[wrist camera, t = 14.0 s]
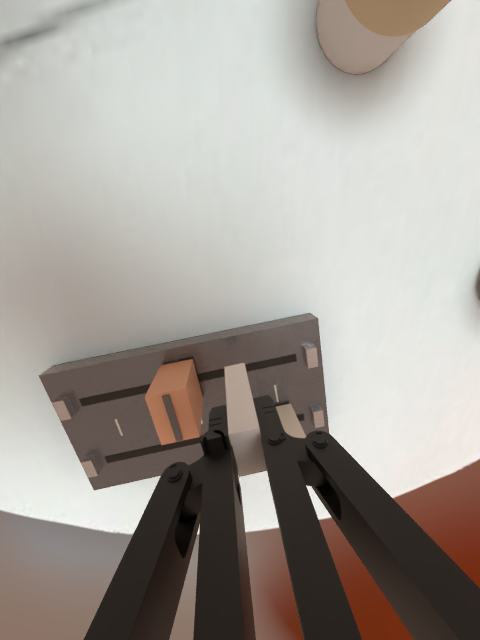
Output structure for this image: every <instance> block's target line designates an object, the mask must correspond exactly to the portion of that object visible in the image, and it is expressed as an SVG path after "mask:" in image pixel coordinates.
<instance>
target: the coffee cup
mask: <svg viewBox="0 0 480 640" xmlns="http://www.w3.org/2000/svg"><path fill="white" fill-rule="evenodd" d="M450 1H451V0H319V2H318V7H317V14H316V28H317V35H318V39H319V43H320V45H321V48H322V50H323V52H324V54H325V55H326V57H327V58H328V60H329V61H330V62H331V63H332V64H333V65H334V66H335V67H337V68H338V69H340V70H342V71H344V72H346V73H350V74H363V73H367V72H370V71H372V70H374V69H376V68H377V67H379V66H380V65H381V64H382V63H384V62H385V61H386V60H387V59H388V58H389V57H390V56H391V55H392V54H393V53H394V52H395V51H396V50H397V49H398V48H399V47H400V46H401V45H402V44H403V43H404V42H405V41H406V40H407V39H408V38H409V37H410V36H411V35H412V34H413V33H414V32H415V31H416V30H418V29H419V28H421V27H422V26H424V25H425V24H426V23H428V22H429V21H430V20H431V19H432V18H433V17H434V16H435V15H436V14H437V13H438V12H439V11H440V10H442V9H443V8H444V7H445V6H446V5H447V4H448V3H449V2H450Z"/></svg>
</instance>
